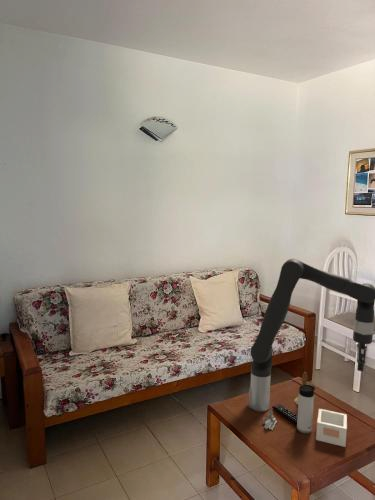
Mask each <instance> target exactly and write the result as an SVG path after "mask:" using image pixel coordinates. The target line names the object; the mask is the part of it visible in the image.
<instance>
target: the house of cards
mask: <svg viewBox="0 0 375 500" xmlns="http://www.w3.org/2000/svg"><path fill="white" fill-rule="evenodd" d="M268 410H269V411H268V418H267V417H263V423H262V424H263V425H264V427H263V428H264V429H266V430H270V431H273V429H274V428H275V427H276V425H277V423H278V420H276V418H275V417H274V415H273V414H274V411H273V410H271V409H268ZM268 428H269V429H268Z"/></svg>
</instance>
